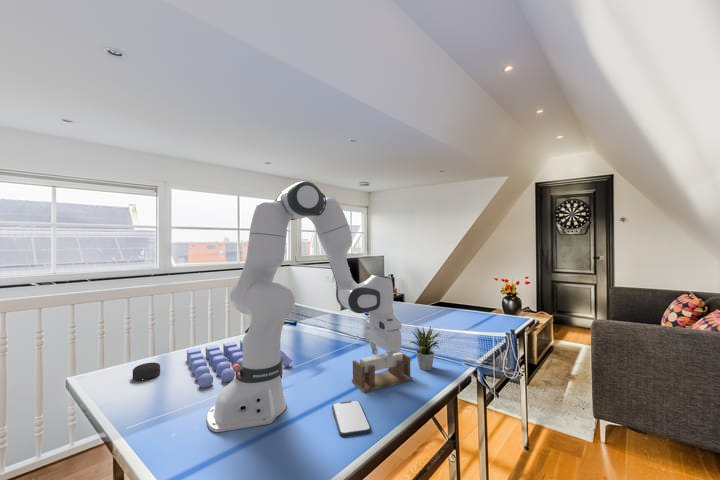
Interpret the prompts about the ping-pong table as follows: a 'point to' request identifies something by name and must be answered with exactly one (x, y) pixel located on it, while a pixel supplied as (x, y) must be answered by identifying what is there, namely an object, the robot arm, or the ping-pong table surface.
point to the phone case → (350, 419)
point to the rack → (381, 375)
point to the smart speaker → (146, 371)
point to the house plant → (425, 348)
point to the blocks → (219, 362)
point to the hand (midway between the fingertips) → (381, 358)
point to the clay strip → (380, 361)
